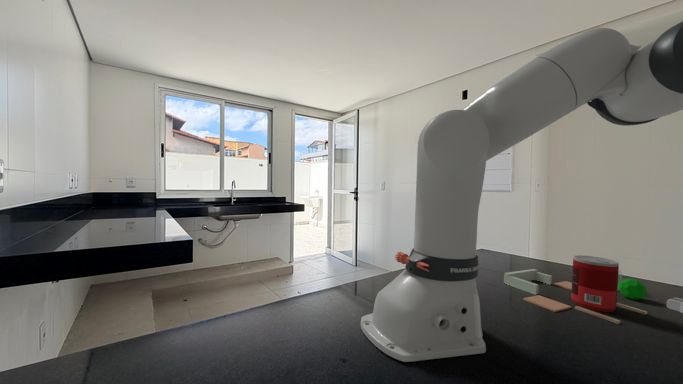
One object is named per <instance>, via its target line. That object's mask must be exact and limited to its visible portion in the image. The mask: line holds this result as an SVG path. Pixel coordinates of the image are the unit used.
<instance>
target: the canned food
mask: <svg viewBox="0 0 683 384" xmlns="http://www.w3.org/2000/svg"><path fill="white" fill-rule="evenodd" d="M572 261H573V262H572V276H571V283H572V290H571V294H570V296H571V301H572V303H574V304H575V306H579V307H582V308H585V309H588V310H591V311H594V312H599V313H600V312H601V313H602V312H603V313H614V312H615V310H616V309H617V306H616V304H617V303H618V299H617V298H618V291H617V289H618V273H619V269H620V268H619V266H620V264H619V262H618V261H616V260H614V259H610V258H604V257H599V256H592V255H581V254H579V255H573V259H572Z"/></svg>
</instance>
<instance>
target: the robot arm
mask: <svg viewBox="0 0 683 384" xmlns="http://www.w3.org/2000/svg"><path fill="white" fill-rule="evenodd" d="M641 47H642V46H641V45H632V44H631V43H630V41H629V39H628V38H626V36H625V35H623V34H622V33H621V32H619V31H618V30H616V29H613V28H608V27H597V28H592V29H588V30H586V31H584V32H582V33H580V34H577V35H575V36H573V37H571V38H569V39H567V40H564V41H563V42H561V43H560V44H557V45H556V46H554V47H552V48H550V49H548V50H547V51H545V52H543V53H541V54H540V55H539V56H536V57H534V58H533V59H532V60H531V61H529V62H527V63H526V64H524V65H523V66H522V67H520V68H518V69H516V70H515V71H514V72H512V73H510V74H508V76H506V77H505V78H503V79H501V80H500V81H497V83H495V84H494V85H491V87H489V88H488V89H487V90H485V91H484V92H483V93H482V94H481V95H479V96H478V97H477V98H476V99H474V100H473V101H472V102H470V103H469V104H467V105H466V106H465V107H464V108H462V109H451V110H447V111H444V112H442V113H439V114H438V115H436V116H434V117H432V119H430V120H429V121H428V122H427V123H426V124H425V125H424V127H423V128H422V129H421V132H420V134H419V136H418V141H417V152H416V153H417V156H416V157H417V159H416V160H417V161H416V182H415V184H416V185H415V186H416V188H415V207H414V208H415V213H414V214H415V215H414V237H413V238H414V239H413V248H412V249H411V251H410V253H409V254H407V253H405V252H402V251H397V252H396V254H395V255H394V259H395V260H396V262H397V263H401V264H402V265H405V266H404V267H405V269H404V270H403V271H402V272H400V274H398V275H397V276H396V277H395V278H394V279H392V281H390V282H389V283H388V284H387V285H385V286H384V287H383V288H382V289H381V290H379V291H378V293H377V295H376V297H375V301H374V305H373V309H372V310H373V311H372V313H368V314H364V315H363V316H361V319H360V328H361V331H362V333H363V334H364V335H365V337H366V338H367V339H368V340H369V341H370V343H372V344H373V345H374V346H375V347H377V349H379V350H380V351H381V352H383V353H384V354H385V355H387V356H389V357H391V358H393V359H395V360H398V361H401V362H402V363H403V362H404V363H407V362H408V363H410V362H411V363H412V362H420V361H426V360H427V361H429V360H435V359H444V358H453V357H460V356H470V355H477V354H478V355H479V354H485V353H486V352H487V347H486V342H485V340H484V339H483V336H484V335H483V330H482V322H481V321H482V319H481V318H482V317H481V304H480V302H481V301H480V296H479V292H478V289H477V283H476V278H477V277H478V276H479V268H480V264H479V256H478V254H477V244H478V243H477V241H478V238H477V237H478V220H479V219H478V217H479V209H480V203H481V199H482V193H483V186H484V180H485V172H486V168H487V166H486V165H487V161H489V160H491V159H492V158H494V157H496V156H497V155H499V154H501V153H503V152H504V151H506V150H508V149H510V148H512V147H513V146H516V145H518V144H519V143H520V142H522V141H524V140H526V139H528V138H529V137H532V136H533V135H534V134H536V133H538V132H540V131H541V130H544V129H545V128H547V127H549V126H550V125H552V124H554V123H555V122H557V121H558V120H560V119H562V118H563V117H565V116H567V115H569V114H570V113H572V112H574V111H575V110H577V109H578V108H580V107H582V106H583V105H585V104H587V105H588V106H589V107H591V108H592V109H594V111H595V112H596V113H597V114H598V115H599V116H600V117H601V118H602V119H604V120H605V121H607V122H608V123H611V124H614V125H618V126H628V127H629V126H630V127H631V126H636V125H642V124H643V125H644V124H647V123H650V122H655V121H656V120H658V119H660V118H663V117H666V116H669V115H671V114H674V113H675V114H676V113H678V112H680V111H682V110H683V20H682V21H681V22H678V23H677V24H674V25H673V26H671V27H670V28H668V29H667V30H665V31H664V32H662V34H660V36H658V38H656V39H654V40H652V41H651V42H650V43H648V44H647V45H645V46H644V47H643V48H641ZM666 307H667V309H670V310H673V311H676V312H679V313H681V314H683V298H681V297H680V298H679V297H673V298H669V299H667V300H666Z"/></svg>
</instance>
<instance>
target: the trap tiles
mask: <svg viewBox="0 0 683 384" xmlns="http://www.w3.org/2000/svg"><path fill="white" fill-rule="evenodd" d="M553 285H554V286H556V287H560V288H562V289H563V288H564V289H566V290H569V291H572V281H571V282H570V281H568V280H566V281H564V280H563V281H559V282H554V283H553ZM522 300H523V301H525V302H528V303H531V304H534V305H535V306H538V307H541V308H543V309H546V310H549V311H551V312H554V313H557V312H561V311H565V310H569V309H571V308H572V306H571V305H568V304H565V303H563V302H560V301H558V300H554V299H550V298H548V297H545V296H542V295H540V294H538V295H533V296H528V297H523V299H522Z"/></svg>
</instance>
